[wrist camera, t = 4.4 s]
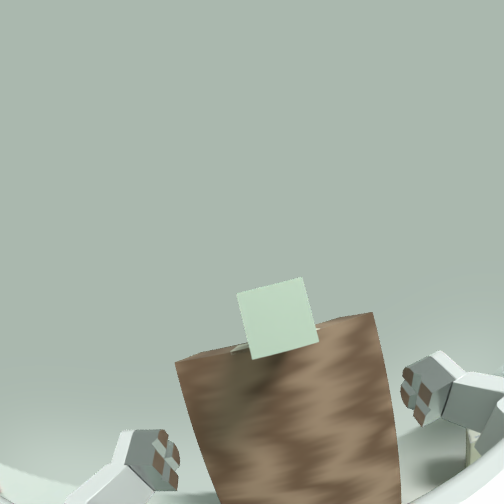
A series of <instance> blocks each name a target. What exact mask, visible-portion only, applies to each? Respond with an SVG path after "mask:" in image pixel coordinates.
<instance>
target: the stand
mask: <svg viewBox="0 0 504 504" xmlns="http://www.w3.org/2000/svg"><path fill="white" fill-rule="evenodd" d="M315 327H316V331H317V335H318V339H319V342H317V343H314V344H310V345H307V346H304V347H300V348H296V349H293V350H289V351H285V352H282V353H278V354H274V355H270V356H266V357H262V358H257V359H253V360H252V356H251V352H250V348H249V344H248V343H243V344H239V345H234V346H230V347H225V348H220V349H216V350H210V351H206V352H201V353H198V354H196V355H193V356H190V357H188V358H185V359H183V360H180V361H177V362H175V366H176V370H177V374H178V378H179V382H180V386H181V389H182V393H183V396H184V400H185V403H186V407H187V410H188V414H189V417H190V420H191V423H192V427H193V430H194V433H195V436H196V439H197V442H198V445H199V447H200V451H201V453H202V456H203V459H204V462H205V464H206V467H207V470H208V473H209V475H210V477H211V480H212V483H213V485H214V488H215V490H216V493H217V495H218V498H219V500H220V502H221V504H401V482H400V467H399V455H398V445H397V437H396V429H395V422H394V414H393V408H392V402H391V395H390V390H389V384H388V379H387V374H386V368H385V364H384V359H383V354H382V350H381V345H380V341H379V337H378V332H377V328H376V324H375V320H374V316H373V313H372V312H370V313H364V314H358V315H352V316H345V317H339V318H336V319H333V320H330V321H326V322H323V323H319V324H316V325H315Z"/></svg>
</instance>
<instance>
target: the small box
mask: <svg viewBox="0 0 504 504" xmlns="http://www.w3.org/2000/svg"><path fill="white" fill-rule="evenodd" d="M480 434H481V433H478V432H476V431H473V430H470V429H468V428H466V460H465V468H467V467H468V466H469V465H471V464H472V463H473V462H475V461H476V460H477V459H478V458H480V457H481V455H480V454H479V452H478V451H477V450H476V449H475V447H474V446H475V443H476V441H477V439H478V438H479V436H480Z"/></svg>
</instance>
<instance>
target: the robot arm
mask: <svg viewBox="0 0 504 504" xmlns="http://www.w3.org/2000/svg"><path fill="white" fill-rule="evenodd" d="M402 376H403V378H404V379H405V380H404V382H403V383H402V384H401V391H400V392H401V397H402V400H403V402H404V404H405V405H406V407H407V408H410V409H412V410H414V414H413V416H414V417H415V419H416V420H417V421H418V423H419V424H420V425H421V427H424V426H426V425H428V424H430V423H432V422H433V421H435V420H437V419H439V418H440V417H442V419H445V420H447V421H450V422H452V423H455V424H457V425H460V426H462V427H465V428H468V429H470V430H473V431H476V432H478V433H481V434H480V436H479V438H478V439H477V441H476V443H475V446H474V447H475V449H476V450H477V451H478V452H479V454H480V455H481V457H480V458H478V459H477V460H476V461H475V462H473V463H472V464H471V465H469V466H468V467H467V468H465V469H464V470H462V471H461V472H460V473H458V474H457V475H455V476H454V477H452V478H451V479H449V480H448V481H446V482H445V483H443V484H441V485H440V486H438V487H437V488H435V489H433V490H432V491H430V492H428V493H426V494H425V495H423V496H421V497H419V498H417V499H416V500H414V501H412V502H410V503H408V504H504V377H500V376H494V375H487V374H482V373H477V372H472V371H469V372H467V373H466V372H465V371H464V370H463V369H462V368H461V367H460V366H458V364H456V363H455V362H454V361H453V360H452V359H451V358H449V357H448V356H447V355H446V354H445V353H444V352H442V351H440V350H439V351H437V352H435V353H433V354H431V355H429V356H428V357H425V358H423V359H421V360H419V361H417V362H415V363H413V364H411V365H409V366H407V367H405V368H404V370H403V375H402ZM179 466H180V457H179V452H178V449H177V447H176V446H175V444H174V443H173V442H171V441H169V440H168V434H167V433H166V432H165V430H161V429H160V430H123V431H122V432H121V433H120V436H119V439H118V442H117V445H116V448H115V451H114V454H113V457H112V461H111V464H106V465H105V466H104V467H103V468H102V469H100V470H99V471H98V472H97V473H96V474H94V475H93V476H92V477H91V478H89V479H88V480H87V481H86V482H85V483H83V484H82V485H81V486H80V487H78V488H77V489H76V490H75V491H73V492H72V493H71V494H70V495H68V496H67V497H66V500H65V503H64V504H146V503H147V502H148V501H149V499H150V498H151V497H152V495H153V494H154V493H155V492H154V491H177V487H178V475H177V474H176V472H175V471H176V469H177V468H178V467H179ZM0 504H14V503H12V502H10V501H9V500H7V499H5V498H3V497H1V496H0Z"/></svg>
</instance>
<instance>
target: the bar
mask: <svg viewBox="0 0 504 504" xmlns="http://www.w3.org/2000/svg"><path fill="white" fill-rule="evenodd" d="M236 295H237V299H238V303H239V307H240V312H241V316H242V320H243V324H244V328H245V332H246V336H247V340H248V344H249V348H250V352H251V356H252V360H253V359H257V358H262V357H266V356H270V355H274V354H278V353H282V352H285V351H289V350H293V349H296V348H300V347H304V346H307V345H310V344H314V343H317V342H319V339H318V335H317V331H316V327H315V323H314V320H313V315H312V312H311V308H310V304H309V300H308V297H307V293H306V289H305V286H304V282H303V279H302V277H300V278H296V279H292V280H288V281H285V282H281V283H277V284H273V285H269V286H265V287H261V288H257V289H253V290H248V291H245V292H240V293H237V294H236Z"/></svg>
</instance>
